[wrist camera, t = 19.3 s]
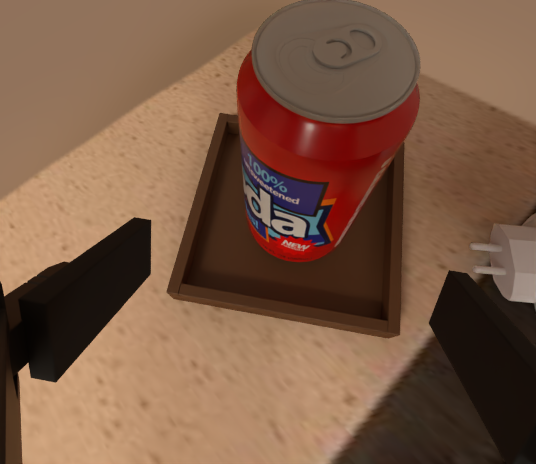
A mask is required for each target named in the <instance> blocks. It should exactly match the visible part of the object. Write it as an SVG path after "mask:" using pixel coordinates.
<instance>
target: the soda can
mask: <svg viewBox="0 0 536 464" xmlns="http://www.w3.org/2000/svg"><path fill="white" fill-rule="evenodd" d="M419 74H420V57H419V52H418V50H417V47H416V45H415V43H414V41H413V39H412V38H411V36H410V35H409V33H408V32H407V31H406V30H405V29H404V28H403V27H402V26H401V25H400V24H399V23H398V22H397V21H396V20H394V19H393V18H392V17H390V16H388V15H387V14H385V13H384V12H382V11H380V10H378V9H376V8H374V7H371V6H369V5H366V4H363V3H360V2H356V1H352V0H303V1H299V2H296V3H293V4H290V5H288V6H285V7H283V8H281V9H280V10H278V11H276V12H275V13H273V14H272V15H271V16H270V17H269V18H267V19H266V20H265V21H264V22H263V23H262V25H261V26H260V28H259V29H258V31H257V33H256V35H255V37H254V40H253V44H252V49H251V51H250V52H249V53H248V54H247V56H246V57H245V59H244V61H243V63H242V65H241V67H240V70H239V74H238V79H237V89H236V91H237V109H238V122H239V135H240V147H241V160H242V173H243V186H244V199H245V211H246V219H247V224H248V227H249V230H250V232H251V234H252V236H253V238H254V239H255V240H256V242H257V243H258V244H259V245H260V246H261V247H262V248H263V249H264V250H265V251H267V252H268V253H270V254H271V255H273V256H275V257H277V258H280V259H283V260H286V261H291V262H309V261H313V260H317V259H320V258H322V257H324V256H326V255H328V254H329V253H331V252H332V251H333V250H334V249H335V248H336V247H337V246H338V245H339V244H340V243H341V242H342V240H343V239H344V237H345V236H346V234H347V233H348V231H349V230H350V228H351V226H352V225H353V223H354V221H355V220H356V218H357V217H358V215H359V213H360V212H361V210H362V208H363V207H364V205H365V204H366V202H367V200H368V199H369V197H370V196H371V194H372V192H373V191H374V189H375V187H376V186H377V184H378V183H379V181H380V179H381V178H382V176H383V174H384V173H385V171H386V170H387V168H388V166H389V165H390V163H391V161H392V160H393V158H394V157H395V155H396V153H397V152H398V150H399V149H400V147H401V145H402V144H403V142H404V140H405V139H406V137H407V135H408V134H409V132H410V130H411V128H412V126H413V124H414V122H415V119H416V116H417V113H418V109H419V102H420V96H419V88H418V84H417V81H418V78H419Z"/></svg>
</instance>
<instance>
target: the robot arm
mask: <svg viewBox="0 0 536 464" xmlns="http://www.w3.org/2000/svg"><path fill="white" fill-rule="evenodd" d="M150 274H151V220H147V219H141V218H135V217H134V218H133V219H131V220H130V221H128V222H127V223H126V224H124V225H123V226H121V227H120V228H118V229H117V230H116V231H114V232H113V233H111V234H110V235H108V236H107V237H106V238H104V239H103V240H101V241H100V242H98V243H97V244H96V245H94V246H93V247H91V248H90V249H89V250H87V251H86V252H84V253H83V254H81V255H80V256H79V257H77V258H76V259H74V260H73V261H71V262H70V263H68V262H62V263H59V264H56V265H54V266H51V267H48V268H47V269H45V270H44V271H42V272H41V273H39V274H38V275H37V277H36V276H35V277H33V278H32V279H30V280H29V281H28V282H27V283H24V284H23V285H21V286H20V287H18V288H17V289H15V290H14V291H12V292H11V293H9V294H7V295H6V296H4V294H3V289H2V284H1V282H0V464H22V442H21V414H20V386H19V376H18V372H19V371H20V370H21V369H22V368H23V367H24V366H25V365H26V364H27V363H29V369H30V375H31V378H35V379H41V380H46V381H51V382H57V381H58V379H59V378H60V377H61V376H62V375H63V374H64V373H65V371H66V370H67V369H68V368H69V367H70V366H71V365H72V363H73V362H74V361H75V360H76V359H77V358H78V357H79V355H80V354H81V353H82V352H83V351H84V350H85V349H86V347H87V346H88V345H89V344H90V343H91V342H92V341H93V339H94V338H95V337H96V336H97V335H98V334H99V333H100V331H101V330H102V329H103V328H104V327H105V326H106V325H107V323H108V322H109V321H110V320H111V319H112V318H113V317H114V315H115V314H116V313H117V312H118V311H119V310H120V309H121V307H122V306H123V305H124V304H125V303H126V302H127V301H128V299H129V298H130V297H131V296H132V295H133V294H134V293H135V291H136V290H137V289H138V288H139V287H140V286H141V285H142V283H143V282H144V281H145V280H146V279H147V278H148V277H149V275H150ZM429 324H430V326H431V328H432V330H433V332H434V333H435V335H436V337H437V339H438V341H439V343H440V344H441V346H442V348H443V350H444V352H445V353H446V355H447V357H448V359H449V361H450V363H451V364H452V366H453V368H454V370H455V372H456V374H457V375H458V377H459V379H460V381H461V383H462V384H463V386H464V388H465V390H466V392H467V394H468V395H469V397H470V399H471V401H472V403H473V404H474V406H475V408H476V410H477V412H478V414H479V415H480V417H481V419H482V421H483V423H484V425H485V426H486V428H487V430H488V432H489V434H490V435H491V437H492V439H493V441H494V443H495V445H496V446H497V448H498V450H499V452H500V454H501V456H502V457H503V459H504V461H505V463H506V464H536V344H534V343H531V342H530V341H529V340H528V339H527V338H526V337H525V336H524V335H523V333H522V332H521V331H520V330H519V329H518V328H517V327H516V326H515V325H514V324H513V323H512V322H511V320H510V319H509V318H508V317H507V316H506V315H505V314H504V313H503V312H502V311H501V310H500V309H499V307H498V306H497V305H496V304H495V303H494V302H493V301H492V300H491V299H490V298H489V297H488V296H487V294H486V293H485V292H484V291H483V290H482V289H481V288H480V287H479V286H478V285H477V284H476V282H475V281H474V280H473V279H472V278H471V277H470V276H469V275H468V274H467V273H462V272H456V271H450V270H449V272H448V274H447V277H446V280H445V282H444V285H443V287H442V290H441V293H440V295H439V298H438V300H437V303H436V305H435V308H434V311H433V313H432V316H431V318H430V321H429Z"/></svg>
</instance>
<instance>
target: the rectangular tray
mask: <svg viewBox="0 0 536 464" xmlns="http://www.w3.org/2000/svg"><path fill="white" fill-rule="evenodd" d="M403 181H404V142H403V144H402V145H401V147H400V149H399V150H398V152H397V153H396V155H395V157H394V158H393V160H392V161H391V163H390V165H389V166H388V168H387V170H386V171H385V173H384V174H383V176H382V178H381V179H380V181H379V183H378V184H377V186H376V187H375V189H374V191H373V192H372V194H371V196H370V197H369V199H368V200H367V202H366V204H365V205H364V207H363V208H362V210H361V212H360V213H359V215H358V217H357V218H356V220H355V221H354V223H353V225H352V226H351V228H350V230H349V231H348V233H347V234H346V236H345V237H344V239H343V240H342V242H341V243H340V244H339V245H338V246H337V247H336V248H335V249H334V250H333V251H332V252H331V253H329V254H328V255H326V256H324V257H322V258H320V259H317V260H313V261H309V262H291V261H286V260H283V259H280V258H277V257H275V256H273V255H271V254H270V253H268V252H267V251H265V250H264V249H263V248H262V247H261V246H260V245H259V244H258V243H257V242H256V240H255V239H254V238H253V236H252V234H251V232H250V230H249V227H248V224H247V219H246V211H245V199H244V186H243V173H242V160H241V147H240V135H239V122H238V116H236V115H230V114H224V113H220V114H219V117H218V121H217V124H216V127H215V131H214V134H213V137H212V141H211V144H210V148H209V151H208V154H207V158H206V161H205V164H204V168H203V171H202V174H201V178H200V181H199V184H198V188H197V191H196V195H195V198H194V201H193V205H192V208H191V211H190V215H189V218H188V221H187V225H186V228H185V231H184V235H183V238H182V242H181V245H180V248H179V252H178V255H177V258H176V262H175V265H174V268H173V272H172V275H171V278H170V282H169V285H168V289H167V293H168V294H169V295H170V296H171V297H172V298H173V299H178V300H183V301H188V302H194V303H199V304H205V305H210V306H215V307H221V308H226V309H232V310H237V311H243V312H248V313H253V314H259V315H264V316H270V317H275V318H281V319H286V320H291V321H297V322H302V323H308V324H313V325H319V326H324V327H329V328H335V329H340V330H346V331H351V332H357V333H362V334H367V335H373V336H378V337H384V338H391V337H395V336H398V335H400V310H401V267H402V224H403Z"/></svg>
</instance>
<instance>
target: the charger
mask: <svg viewBox="0 0 536 464" xmlns="http://www.w3.org/2000/svg"><path fill="white" fill-rule="evenodd" d="M469 248H470V249H471V250H482V251H489V256H490V262H491V267H488V266H477V265H474V266H473V271H474V272H475V273H484V274H493V279H494V282H495V283H496V285H497V287H498V289H499V290H500V292H501V294H502V296H503V297H505V298H506V299H507V300H509V301H518V302H529V303H534V306H535V310H536V213H535V214H533V215H532V216H530V217H529V218H528V219H527V220H526V222H525V223H524V224H523V225H522V226H516V225H505V224H494V226H493V229H492V231H491V236H490V244H484V243H473V242H471V243H470V244H469Z"/></svg>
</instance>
